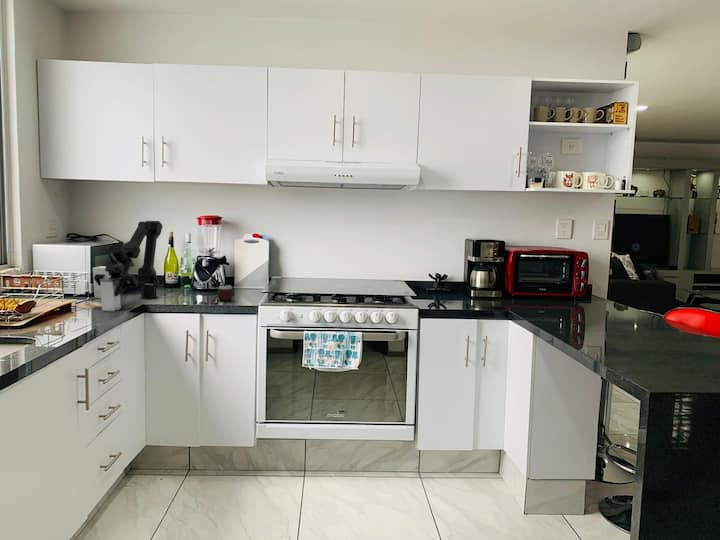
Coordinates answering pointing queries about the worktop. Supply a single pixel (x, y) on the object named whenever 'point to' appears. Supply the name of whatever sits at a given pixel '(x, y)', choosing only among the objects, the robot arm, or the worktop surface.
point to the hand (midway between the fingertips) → (109, 295)
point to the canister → (110, 294)
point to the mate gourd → (224, 292)
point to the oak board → (89, 305)
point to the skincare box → (96, 287)
